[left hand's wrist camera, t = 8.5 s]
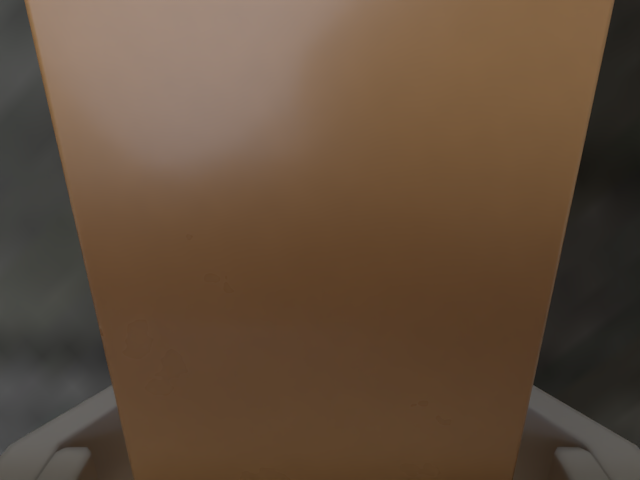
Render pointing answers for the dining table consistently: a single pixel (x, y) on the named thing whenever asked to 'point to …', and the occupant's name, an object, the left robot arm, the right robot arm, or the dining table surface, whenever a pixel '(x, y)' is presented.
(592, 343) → the dining table surface
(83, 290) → the dining table surface
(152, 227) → the post
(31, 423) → the dining table surface
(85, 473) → the left robot arm
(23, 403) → the dining table surface
